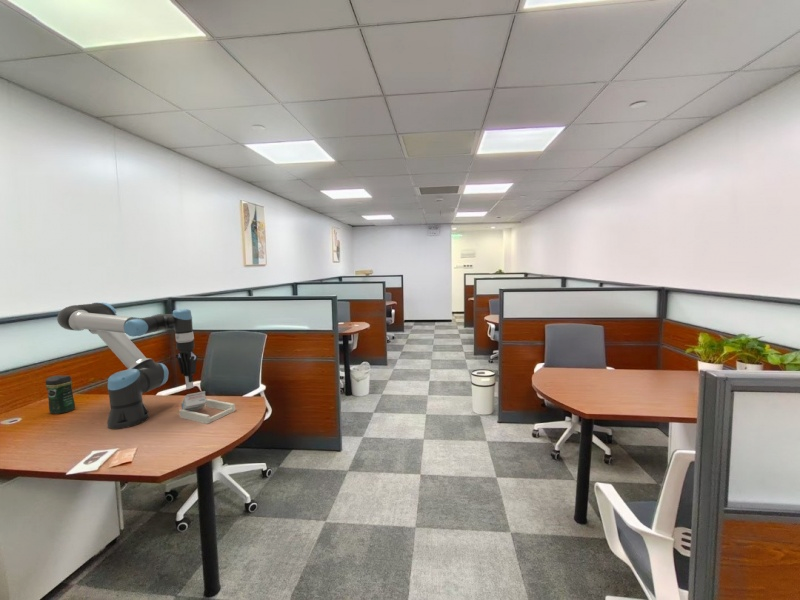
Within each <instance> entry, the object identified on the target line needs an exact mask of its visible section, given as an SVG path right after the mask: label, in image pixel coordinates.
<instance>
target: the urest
mask: <svg viewBox="0 0 800 600" xmlns="http://www.w3.org/2000/svg"><path fill="white" fill-rule="evenodd" d="M205 406H206V408H207V407H208V408H211V409H217V410H221V412H219V413H216V414H214V415H212V416H210V414H205V413H201V412H196V411H188V410H184V409H182V408H181V409H179V411H178V413H179V418H180V419H185V420H188V421H193V422H197V423H202V424H205V425H207V424H210V423H212V422H214V421H216V420H219V419H221V418H223V417H226V416H227V415H229V414H232V413H233V412H235V411H236V405H235V403H232V402H226V401H221V400H216V399H211V398H206V403H205Z"/></svg>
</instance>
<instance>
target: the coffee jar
mask: <svg viewBox="0 0 800 600" xmlns="http://www.w3.org/2000/svg"><path fill="white" fill-rule="evenodd" d="M72 385H73V380H72V377H71V375H52V376H49V377H47V378H46V380H45V387H46V390H47V398H48V410H49V413H50V414H56V415H57V414H58V415H59V414H64V413H69V412H71V411H73V410H75V409H76V404H75V403H76V402H75V399H74V395H73V394H74V393H73V388H72V387H73V386H72Z"/></svg>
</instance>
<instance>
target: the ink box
mask: <svg viewBox="0 0 800 600" xmlns="http://www.w3.org/2000/svg"><path fill="white" fill-rule="evenodd" d="M206 400H207V398H206V391H205V390H204V391H199V392H194V393H188V394H186V395H185V396H184V397H183V400H182V402H181V410H182V409H184V410H188V411H193V412H196V411H199V410H202V409H203V408H204V406H206Z"/></svg>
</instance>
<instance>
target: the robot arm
mask: <svg viewBox="0 0 800 600" xmlns="http://www.w3.org/2000/svg"><path fill="white" fill-rule="evenodd" d="M116 310H117V309H115V307H114V306H113V305H111V304H109V303H107V302H92V303H86V304H85V303H84V304H73V305H69V306H66V307H65V308H62V309H61V310H60V311H59V312H58V314H57V318H56V320H57V324H58V325H59V326H60V327H61V328H63V329H65V330H69V331H78V332H79V331H81V332H82V331H84V330H88V332H90V334H93V335H98V337H99V338H100V339H101V340H102V341H103V342H104V343H105V344H106V345H107V347H108V349H110V350H111V352H112V353H113V354H115V356H116V357H117V358H118V360H120V361H121V363H122V364H123V365H124V366H125V368H127V369H125V370H120V371H117V372H115V373H113V374H111V375H110V376H109V377H108V378H107V390H108V398H109V406H110V411H109V413H108V417H107V421H106V424H107V428H108V429H111V430H119V429H125V428H129V427H134V426H136V425H139V424H141V423H144V422H145V421H147V420H148V419H149V418H150V415H149V410H148V409H147V408H146V406H145V403H144V401H143V394H145V393H147V392H150V391H152V390H155V389H157V388H160V387H161V386H163V385H165V384H166V382H167V381H168V379H169V373H170V372H169V369H168V367H167V365H165V364H164V363H162V362H161V363H160V362H155V360H154V359H153V358H151V357H150V358H148V357H146V356H145V354H143V352H142V351H141V350H140V349H139V348H138V347H137V346H136V344H135V343H134V342H133V341H132V340H131V339H130V338H129V337H132V338H133V337H140V336H145V335H147V334H153V333H156V332H160V331H164V330H165V331H167V330H173V331H174V334H175V345H176V346H175V347H176V350H177V351H178V354H175V357H176V360H177V364H178V366H179V370H180V374H181V375H183V376H184V381H185V389H186V390H190V389H192V388H194V377H193V375H195V374H196V373H197V361H198V360H197V359H198V355H197V354H196V355H195V353H194V350H193V349H195V336H194V329H193V317H192V316H193V315H192V312H191V309H188V308H184V309H183V308H182V309H174V310H173V311H172V313H167V314H166V313H163V314H162V313H160V314H159V313H158V314H157V313H156V314H153V315H151V316H145V317H135V316H125V315H124V316H123V315H118V314H117V311H116ZM127 335H128V336H129V337H128V336H127Z"/></svg>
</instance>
